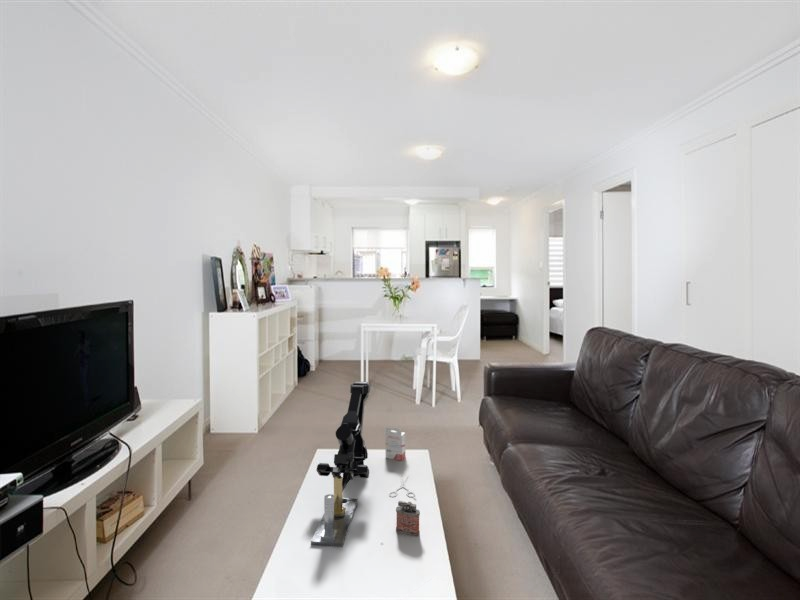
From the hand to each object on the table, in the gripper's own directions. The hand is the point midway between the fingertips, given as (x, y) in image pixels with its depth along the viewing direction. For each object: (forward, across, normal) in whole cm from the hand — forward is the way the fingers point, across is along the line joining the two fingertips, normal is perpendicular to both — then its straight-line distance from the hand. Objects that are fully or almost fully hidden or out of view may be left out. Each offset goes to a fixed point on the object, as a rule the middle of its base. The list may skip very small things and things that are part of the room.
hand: (339, 495), depth 137 cm
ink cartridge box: (-28, +16, +38) cm, 50 cm away
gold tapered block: (+5, 0, +2) cm, 6 cm away
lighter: (+10, +25, 0) cm, 27 cm away
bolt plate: (+7, 0, +2) cm, 8 cm away
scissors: (-10, +21, +20) cm, 31 cm away
